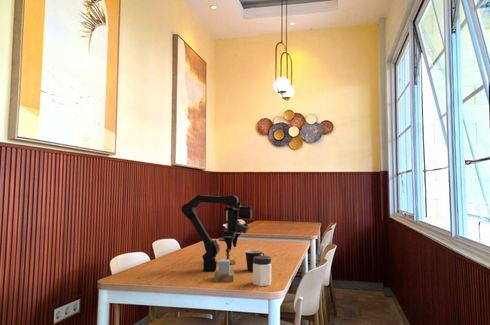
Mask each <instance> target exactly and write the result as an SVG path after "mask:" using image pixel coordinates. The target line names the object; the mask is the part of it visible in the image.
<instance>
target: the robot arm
mask: <svg viewBox="0 0 490 325" xmlns="http://www.w3.org/2000/svg"><path fill="white" fill-rule="evenodd" d="M239 200H240V199H239V197H238V195H225V196H219V195H218V196H217V195H202V194H197V195H196V196H194V198H192V199H191V200H190V201H189V202H187V203H185V204H183V205H182V206H181V209H180V210H181V212H182V214H183V215H184V217H186V218H187V219H188V220H189V221H190V222H191V224H192V226H194V229H195V230H196V232H197V233H198V236H199V237H200V239H201V240H202V242H203V245H204V250H205V253H204V254H203V255H202V259H203V268H202V272H216V271H217V267H218V266H217V263H218V262H217V260H216V258H217V255H218V254H219V253H220V250H221V249H220V246H221V245H220V244H218V241H217V239H214V240H213V239H212V238H211V236H210V235H209V233H208V232H207V230H206V228H205V226H204V225H203V223H202V221H201V220H200V217H198V211H197V209H196V208H197V207H198V206H199V205H200V204H201V203H209V204H220V205H224V206H225V208H223V211H227V221H226V220H225V223H227V229H225V230H223V231H222V232H221V237H222V238H224V240H225V242H224V243H225V244H226V247H227V246H228V249H229V250H230V251H232V249H233V248H236V247H237V244H238V240H239V237H240V236H242V234H246V233H248V231H249V225H248V223H246V222H245V223H240V220H239V218H240V219H241V220H252V218H253V212H252V211H253V210H252V206H250V205H249V206H248V205H247V206H243V205H242V204H241V203H240V201H239ZM228 206H229V207H228ZM232 246H233V247H232Z"/></svg>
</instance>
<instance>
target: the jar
mask: <svg viewBox="0 0 490 325" xmlns="http://www.w3.org/2000/svg"><path fill="white" fill-rule="evenodd" d="M271 284H272V257H271V256H267V255H264V256H263V255H261V256H255V257H254V258H253V272H252V285H254V286H258V287H269V286H271Z"/></svg>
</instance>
